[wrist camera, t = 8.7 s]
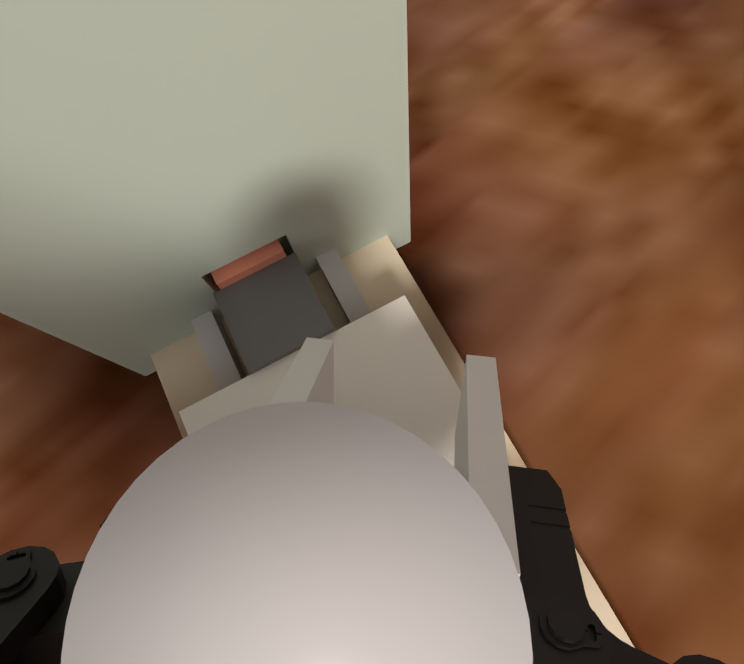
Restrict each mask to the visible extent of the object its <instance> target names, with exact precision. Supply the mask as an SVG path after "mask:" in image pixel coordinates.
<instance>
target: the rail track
mask: <svg viewBox="0 0 744 664" xmlns="http://www.w3.org/2000/svg"><path fill="white" fill-rule="evenodd" d="M316 260H317V262H318V264H319V267H320V270H318V271H316V272H314V273H312V274H310V275H308V276H307V277H308V279H309V281H310V282H311V284H312V286H313V288H314V290H315V292H316V294H317V296H318V298H319V300H320V302H321V303H322V305H323V307H324V309H325V311H326V313H327V315H328V317H329V319H330V321H331V323H332V324H333V326H334V328H335V330H338V329H340V328H342V327H344V326H346V325H348V324H350V323H352V322H354V321H355V320H357V319H359V318H361V317H363V316H365V315H367V314H369V313H371V312H373V311H375V310H377V309H379V308H381V307H383V306H385V305H386V304H388V303H390V302H392V301H394V300H396V299H398V298H400V297H402V296H404V295H405V297H406V298H407V300H408V302H409V304H410V305H411V307H412V309H413V310H414V312H415V314H416V316H417V317H418V319H419V321H420V322H421V324H422V326H423V327H424V329H425V331H426V333H427V334H428V336H429V338H430V339H431V341H432V343H433V345H434V346H435V348H436V350H437V351H438V353H439V355H440V356H441V358H442V360H443V362H444V363H445V365H446V367H447V368H448V370H449V372H450V374H451V375H452V377H453V379H454V380H455V382H456V384H457V385H458V387H459V389H460V391H461V389H462V382H463V376H464V369H465V364H464V362H463V360H462V359H461V357H460V355H459V354H458V352H457V350H456V349H455V347H454V345H453V344H452V342H451V340H450V339H449V337H448V335H447V334H446V332H445V330H444V329H443V327H442V325H441V324H440V322H439V320H438V319H437V317H436V315H435V314H434V312H433V310H432V309H431V307H430V305H429V304H428V302H427V300H426V299H425V297H424V295H423V294H422V292H421V290H420V289H419V287H418V285H417V284H416V282H415V280H414V279H413V277H412V275H411V274H410V272H409V270H408V269H407V267H406V265H405V264H404V262H403V260H402V259H401V257H400V255H399V254H398V252H397V250H396V249H395V247H394V245H393V244H392V242H391V240H390V239H389V237H388V235H387V236H385V237H383V238H381V239H379V240H377V241H375V242H373V243H371V244H369V245H367V246H365V247H363V248H361V249H359V250H357V251H355V252H353V253H351V254H349V255H347V256H345V257H343V258H341V257H340V255H339V254H338V252H337V250H336V248H334V249H332V250H330V251H328V252H326V253H324V254H322V255H320V256H318V257H316ZM191 323H192V325H193V328H194V330H195V333H193V334H191V335H189V336H187V337H185V338H183V339H181V340H179V341H177V342H175V343H173V344H171V345H169V346H167V347H165V348H163V349H161V350H160V351H158V352H156V353H154V354H152V355H151V358H152V361H153V363H154V366H155V368H156V371H157V374H158V376H159V379H160V381H161V384H162V386H163V389H164V392H165V394H166V397H167V399H168V402H169V404H170V407H171V410H172V412H173V415H174V417H175V420H176V423H177V425H178V428H179V430H180V433H181V435H182V438H183V439H184V438H185V437H187V436H188V434H187V432H186V429H185V426H184V424H183V421H182V419H181V416H180V414H179V411H181V410H183V409H185V408H187V407H189V406H191V405H193V404H195V403H197V402H199V401H201V400H202V399H204V398H206V397H208V396H210V395H212V394H214V393H216V392H218V391H220V390H222V389H224V388H226V387H228V386H230V385H231V384H233V383H235V382H237V381H239V380H241V379H243V378H245V377H247V376H249V375H251V374H250V373H248V371H247V369H246V367H245V364H244V362H243V360H242V358H241V355H240V353H239V351H238V349H237V346H236V344H235V342H234V340H233V338H232V335H231V333H230V331H229V329H228V326H227V324H226V322H225V320H224V318H223V319H220V318H219V317H218V316H217V315H215V314H214V313H213V312H212V311H209V312H207V313H205V314H203V315H201V316H199V317H197V318H195V319H193V320H191ZM504 436H505V444H506V453H507V461H508V465H509V466H517V467H524V468H527V467H526V465H525V464H524V462H523V460H522V459H521V457H520V455H519V454H518V452H517V450H516V449H515V447H514V445H513V444H512V442H511V440H510V439H509V437H508V435H507V434H506V432H505V430H504ZM575 551H576V555H577V559H578V564H579V568H580V572H581V576H582V581H583V585H584V589H585V593H586V597H587V599H588V602H589V605H590V607H591V609H592V610H593V611H594V612H595V613H596V614H597V616H598V617H599V619H600V620H601V622H602V623H603V625H604V626H605V627H606V628H607V629H608V630H609V631H610V632H611V633H613V634H614V635H615V636H616V637H618V638H619V639H620V640H622V641H623V642H625V643H627V644H629V645H630V646H632V647H634V646H633V644H632V642H631V641H630V639H629V637H628V636H627V634H626V632H625V631H624V629H623V627H622V626H621V624H620V622H619V621H618V619H617V617H616V616H615V614H614V612H613V611H612V609H611V607H610V606H609V604H608V602H607V601H606V599H605V597H604V596H603V594H602V592H601V591H600V589H599V587H598V586H597V584H596V582H595V580H594V579H593V577H592V575H591V574H590V572H589V570H588V569H587V567H586V565H585V564H584V562H583V560H582V559H581V557H580V555H579V554H578V552H577V550H576V549H575ZM634 648H635V647H634Z"/></svg>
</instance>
